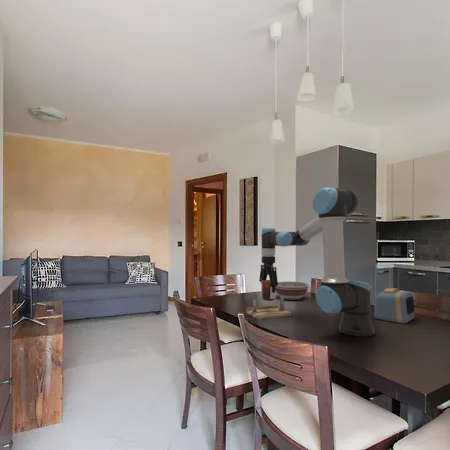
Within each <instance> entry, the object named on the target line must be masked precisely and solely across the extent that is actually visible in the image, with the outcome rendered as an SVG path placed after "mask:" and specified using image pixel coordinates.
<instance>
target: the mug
mask: <svg viewBox="0 0 450 450" xmlns="http://www.w3.org/2000/svg"><path fill="white" fill-rule="evenodd" d="M260 283H261V284H262V295H261V299H262V300H263V301H267V302H273V301H274V300H275V299H276V297H275V298H273V299H270V285H271V283H270V279H266V280H262V281H261V282H260Z"/></svg>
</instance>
